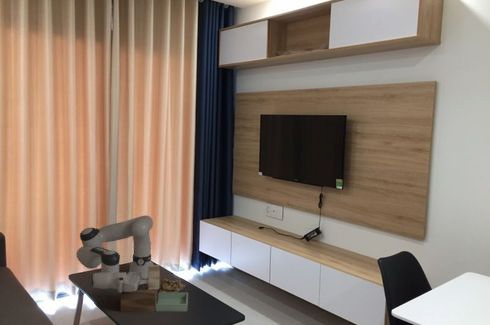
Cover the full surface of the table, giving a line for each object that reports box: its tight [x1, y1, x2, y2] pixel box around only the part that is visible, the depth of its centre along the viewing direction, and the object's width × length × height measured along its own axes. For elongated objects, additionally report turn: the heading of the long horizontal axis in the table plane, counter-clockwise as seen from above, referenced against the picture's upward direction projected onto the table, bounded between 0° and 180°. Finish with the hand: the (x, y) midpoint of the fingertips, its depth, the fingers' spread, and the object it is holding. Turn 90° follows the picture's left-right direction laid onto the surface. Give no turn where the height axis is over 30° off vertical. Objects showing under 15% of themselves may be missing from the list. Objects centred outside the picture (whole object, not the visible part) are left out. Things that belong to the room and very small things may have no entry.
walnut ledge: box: [120, 283, 159, 313], centre depth 233 cm, size 16×18×10 cm
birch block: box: [147, 264, 161, 290], centre depth 234 cm, size 5×6×12 cm
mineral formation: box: [158, 278, 186, 293], centre depth 252 cm, size 8×13×15 cm
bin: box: [155, 292, 189, 313], centre depth 236 cm, size 16×17×4 cm
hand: (147, 281), depth 230 cm, fingers closed
